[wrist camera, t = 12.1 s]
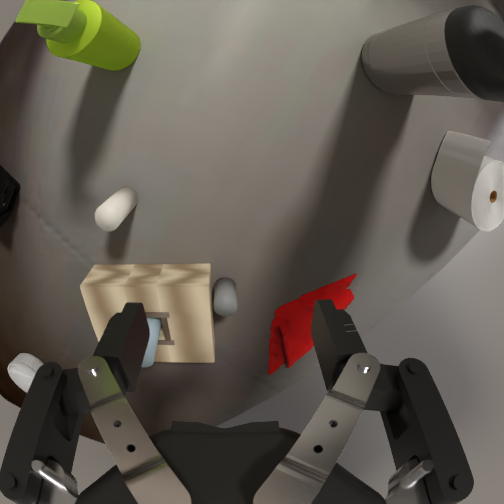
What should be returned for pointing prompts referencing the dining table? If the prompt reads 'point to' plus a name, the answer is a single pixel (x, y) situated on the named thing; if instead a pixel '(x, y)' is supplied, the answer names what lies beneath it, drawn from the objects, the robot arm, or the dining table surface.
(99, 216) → the medium pin
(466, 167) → the toilet tissue
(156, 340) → the long pin
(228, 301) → the short pin
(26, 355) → the ramekin
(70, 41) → the soap dispenser
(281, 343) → the cloth
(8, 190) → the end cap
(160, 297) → the hole block
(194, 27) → the dining table surface
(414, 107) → the dining table surface
